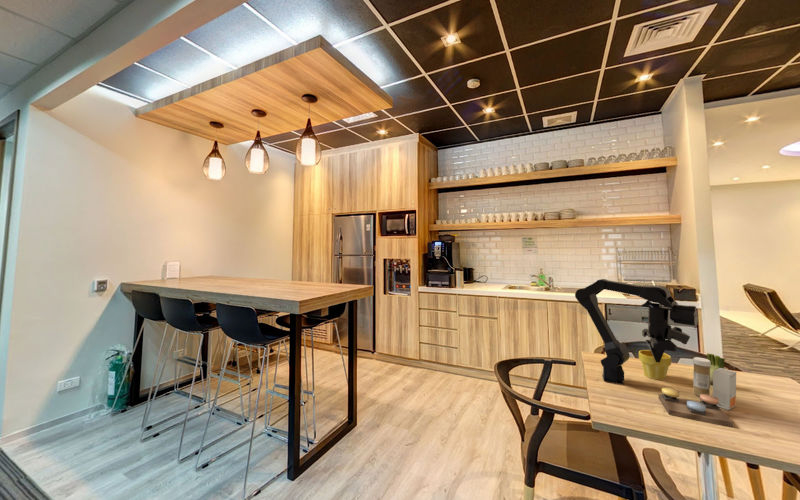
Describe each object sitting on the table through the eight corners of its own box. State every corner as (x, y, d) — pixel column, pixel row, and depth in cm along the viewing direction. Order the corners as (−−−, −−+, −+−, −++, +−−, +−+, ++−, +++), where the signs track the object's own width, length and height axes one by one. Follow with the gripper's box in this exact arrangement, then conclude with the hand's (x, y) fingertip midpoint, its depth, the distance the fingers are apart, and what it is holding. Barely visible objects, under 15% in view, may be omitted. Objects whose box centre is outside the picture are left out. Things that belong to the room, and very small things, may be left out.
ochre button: (663, 398, 105) (664, 391, 105) (660, 392, 108) (660, 386, 108) (680, 401, 102) (680, 394, 102) (676, 395, 106) (676, 389, 106)
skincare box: (729, 411, 101) (730, 375, 101) (712, 405, 105) (712, 370, 104) (736, 406, 104) (736, 371, 104) (719, 400, 107) (719, 367, 107)
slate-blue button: (689, 412, 97) (689, 405, 97) (684, 406, 101) (684, 399, 101) (708, 416, 95) (708, 409, 95) (702, 409, 99) (702, 402, 99)
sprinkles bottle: (711, 396, 111) (712, 359, 110) (708, 399, 108) (708, 362, 108) (694, 391, 114) (695, 355, 114) (691, 394, 112) (691, 358, 112)
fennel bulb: (727, 389, 116) (727, 358, 116) (710, 386, 118) (710, 356, 118) (717, 382, 122) (718, 353, 122) (702, 380, 124) (702, 351, 123)
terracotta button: (703, 405, 100) (703, 398, 100) (697, 399, 104) (697, 392, 104) (721, 408, 98) (721, 401, 98) (715, 402, 102) (715, 395, 102)
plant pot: (643, 380, 124) (643, 356, 124) (635, 370, 134) (635, 348, 134) (675, 384, 120) (675, 359, 120) (664, 374, 130) (664, 351, 130)
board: (668, 414, 99) (668, 407, 99) (658, 398, 109) (658, 391, 109) (733, 427, 92) (733, 419, 92) (715, 408, 102) (715, 401, 102)
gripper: (697, 329, 100) (696, 376, 100) (678, 317, 116) (677, 357, 117) (654, 325, 105) (653, 369, 106) (642, 314, 122) (641, 352, 122)
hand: (657, 362), depth 112 cm, fingers closed
